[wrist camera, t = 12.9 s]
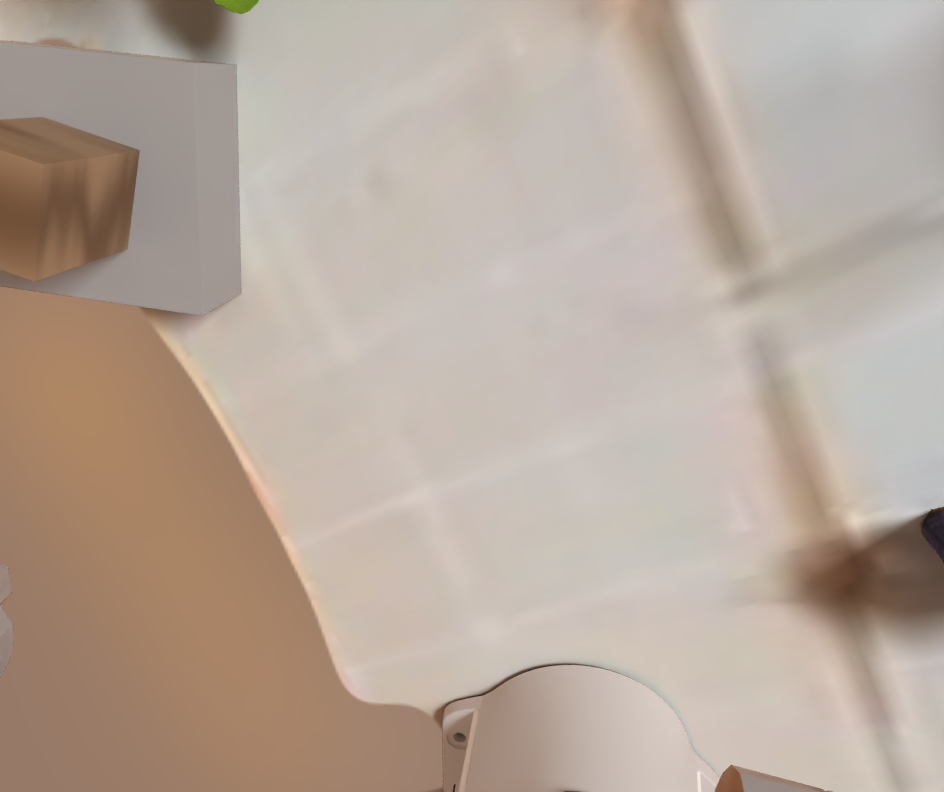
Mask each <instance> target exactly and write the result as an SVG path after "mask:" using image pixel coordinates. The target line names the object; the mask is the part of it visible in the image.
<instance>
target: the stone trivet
mask: <svg viewBox="0 0 944 792" xmlns="http://www.w3.org/2000/svg"><path fill="white" fill-rule="evenodd" d="M33 117H45V118H47V119H50V120H53V121H56V122H59V123H62V124H65V125H68V126H71V127H74V128H76V129H79V130H82V131H85V132H88V133H91V134H94V135H97V136H100V137H103V138H105V139H108V140H111V141H114V142H117V143H120V144H123V145H126V146H129V147H132V148H134V149H137V150H140V153H139V161H138V169H137V177H136V186H135V194H134V202H133V210H132V218H131V227H130V235H129V243H128V249H126V250H123V251H121V252H118V253H115V254H112V255H109V256H106V257H104V258H101V259H98V260H95V261H92V262H89V263H86V264H84V265H81V266H78V267H75V268H72V269H69V270H66V271H64V272H61V273H58V274H55V275H52V276H49V277H46V278H44V279H41V280H38V281H35V282H34V281H32V280H29V279H26V278H23V277H20V276H17V275H14V274H12V273H9V272H6V271H3V270H0V286H2V287H8V288H16V289H22V290H29V291H36V292H43V293H50V294H56V295H63V296H70V297H78V298H84V299H91V300H99V301H105V302H111V303H118V304H125V305H133V306H139V307H146V308H153V309H160V310H166V311H173V312H180V313H187V314H194V315H201V316H203V315H205V314H206V313H208V312H210V311H211V310H213V309H215V308H217V307H218V306H220V305H222V304H224V303H225V302H227V301H229V300H231V299H232V298H234V297H236V296H238V295H239V294H241V248H240V200H239V152H238V105H237V65H235V64H226V63H216V62H207V61H197V60H188V59H178V58H169V57H160V56H150V55H141V54H131V53H122V52H112V51H103V50H94V49H84V48H76V47H66V46H58V45H48V44H39V43H28V42H17V41H2V40H0V120H1V119H17V118H33Z"/></svg>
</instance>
